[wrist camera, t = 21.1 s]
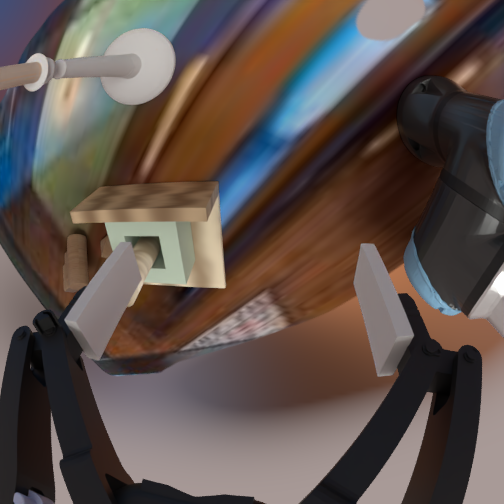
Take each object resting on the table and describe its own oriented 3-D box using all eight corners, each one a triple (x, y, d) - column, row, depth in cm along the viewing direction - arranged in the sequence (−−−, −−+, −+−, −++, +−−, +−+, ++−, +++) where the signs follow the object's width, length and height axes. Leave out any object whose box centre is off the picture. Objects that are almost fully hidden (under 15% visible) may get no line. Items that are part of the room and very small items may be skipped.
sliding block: (187, 198, 46) (175, 218, 40) (195, 259, 52) (186, 284, 46) (122, 200, 46) (103, 219, 40) (136, 257, 53) (121, 280, 47)
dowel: (165, 223, 47) (130, 285, 34) (168, 243, 49) (137, 308, 36) (143, 223, 47) (103, 283, 34) (148, 243, 50) (112, 305, 36)
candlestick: (192, 48, 33) (58, 14, 8) (148, 118, 39) (4, 194, 14) (127, 18, 30) (-28, -5, 5) (90, 85, 36) (-64, 133, 11)
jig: (218, 181, 45) (205, 207, 37) (225, 284, 57) (218, 322, 48) (99, 187, 46) (70, 211, 38) (124, 279, 58) (106, 312, 49)
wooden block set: (79, 262, 60) (82, 304, 57) (48, 256, 53) (49, 301, 49) (120, 229, 53) (125, 279, 50) (83, 219, 46) (85, 273, 42)
